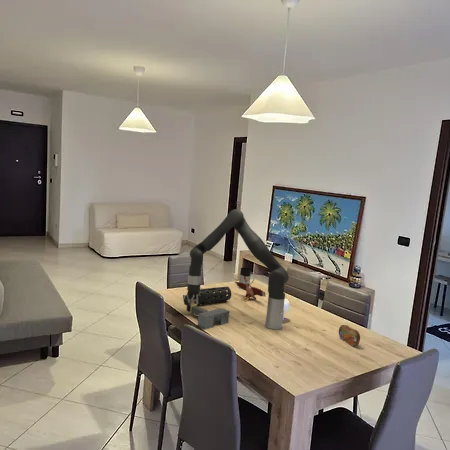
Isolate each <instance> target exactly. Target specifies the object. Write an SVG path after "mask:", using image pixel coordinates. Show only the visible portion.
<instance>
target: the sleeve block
mask: <svg viewBox="0 0 450 450" xmlns="http://www.w3.org/2000/svg"><path fill="white" fill-rule="evenodd" d="M197 317H198V318H197V327H199V328H202V329H203V330H208V329H211V328H214V323H215V324H218V325H220V326H222V325H225V324H226V325H227V324H229V321H230V320H229V318H230V310H228V309H225V308H222V307H220V308H216V309H212V310H207V312H203V313H199V315H198V316H197Z"/></svg>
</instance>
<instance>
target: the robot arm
mask: <svg viewBox="0 0 450 450" xmlns="http://www.w3.org/2000/svg"><path fill="white" fill-rule="evenodd" d="M232 228H234V229H235V231H236V232H237V233H238V235H240V237H241V238H242V240H243V242H244V244H245V246H246V247H247V248H248V250H249V252H250V253H251V254H252V255H253V257H254V258H255V259H257V260H258V261H259V262H260V263H262V265H264V266H265V267H266V268H267V270H268V271H269V272H270V273H269V275H268V282H267V293H268V298H267V304H266V305H267V307H266V315H265V317H266V318H265V327H266V328H268V329H270V330H282V329H283V322H284V312H285V311H284V310H285V299H286V293H285V292H284V291H285V284H287V283H288V281H289V279H290V278H289V277H290V276H289V273H288V271H287V270H286V269H285V268H284V267H283V266H282V264H280V262H279V261H278V260H277V259H276V257H275V256H274V255H273V253H272V252H271V250H270V249H269V248H268V247H267V246H268V245H266V243H265V242H264V241H263V239H262V237H260V236H259V235H258V234H257V233H256V232H255V231H254V230H253V229H252V228H251V227H250V224H248V222H247V221H246V218H245V216H244V213H243V212H242V210H240V209H238V208H237V209H236V208H235V209H231V211H229V213H228V214H227V215H226V216H225V218H224V219H223V221H221V223H220V224H219V225H218V226H217V227H216V228H214V230H212V232H211V233H210V234H208V235H207V236H206V237H205V238H204V239H203V240H202V241H200V242H199V243H198V244H197V245H195V246H194V247H193V248H191V250H190V252H189V257H190V265H189V268H188V277H187V287H186V288H187V292H186V294H183V295H182V298H183V304H184V305H185V306H186V308H187V311H186V312H188V313H190V309H191V306H190V305H191V302H192V301H193V300H194V303H195V304H197V306H198V305H199V304H198V303H200V302H201V299H202V296H203V293H201V292H199V291H200V289H201V280H202V277H201V276H202V266H203V262H204V254H206V253H207V252H209V251H211V250H212V249H213V248H215V246H216V245H218V244H219V243H220V241H222V239H223V238H224V236H225V235H226V234H227V233H228V232H229V231H230V230H231V229H232ZM189 299H190V300H189ZM198 307H199V306H198Z"/></svg>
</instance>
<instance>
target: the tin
mask: <svg viewBox="0 0 450 450" xmlns="http://www.w3.org/2000/svg"><path fill="white" fill-rule="evenodd" d="M338 336H339V338H340V340H341V339H342V341H343V342H344V341H345V344H348V345H349V346H351V347H352V346H353V347H354V346H356V347H357V346H358V345H359V344H360V341H361V335H360V332H359V331H358V330H357V329H355V328H353V327H352V326H350V325H348V324H341V325H340V326H339V329H338Z"/></svg>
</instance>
